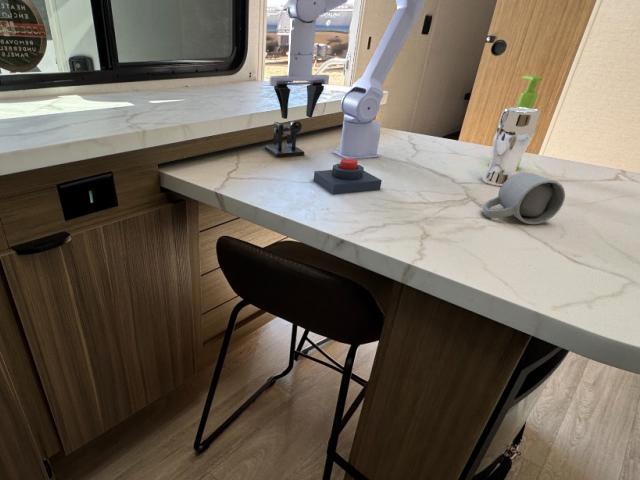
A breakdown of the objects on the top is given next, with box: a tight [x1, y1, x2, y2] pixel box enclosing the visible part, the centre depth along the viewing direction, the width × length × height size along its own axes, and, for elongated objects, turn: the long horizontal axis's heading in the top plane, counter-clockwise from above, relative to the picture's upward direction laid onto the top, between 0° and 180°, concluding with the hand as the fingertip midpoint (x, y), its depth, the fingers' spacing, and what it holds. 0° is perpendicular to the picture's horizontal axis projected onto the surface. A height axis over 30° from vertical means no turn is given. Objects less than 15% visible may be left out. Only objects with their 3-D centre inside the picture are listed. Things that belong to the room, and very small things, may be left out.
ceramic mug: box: [482, 172, 566, 225], centre depth 74 cm, size 11×8×8 cm
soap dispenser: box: [515, 75, 543, 171], centre depth 98 cm, size 6×7×20 cm
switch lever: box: [282, 120, 303, 136], centre depth 109 cm, size 11×3×3 cm, turn 15°
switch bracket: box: [264, 120, 305, 159], centre depth 113 cm, size 10×8×8 cm
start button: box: [339, 158, 359, 170], centre depth 89 cm, size 4×4×2 cm
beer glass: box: [482, 106, 541, 187], centre depth 89 cm, size 7×7×15 cm
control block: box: [313, 163, 383, 196], centre depth 90 cm, size 11×10×4 cm
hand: (296, 117), depth 104 cm, fingers open, 6 cm apart
